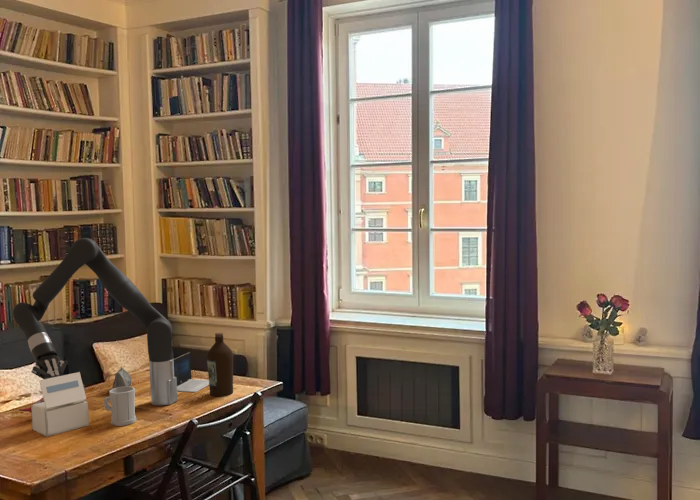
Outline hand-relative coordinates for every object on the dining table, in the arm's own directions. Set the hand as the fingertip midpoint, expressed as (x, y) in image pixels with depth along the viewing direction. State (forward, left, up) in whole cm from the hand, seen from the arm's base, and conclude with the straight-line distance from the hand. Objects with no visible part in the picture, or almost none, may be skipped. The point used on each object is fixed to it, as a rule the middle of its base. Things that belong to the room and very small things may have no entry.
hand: (58, 386), depth 236 cm
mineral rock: (+4, -48, -15) cm, 51 cm away
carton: (0, 0, -15) cm, 15 cm away
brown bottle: (-40, -48, -15) cm, 64 cm away
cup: (-19, -8, -15) cm, 26 cm away
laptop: (-23, -57, -15) cm, 63 cm away
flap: (-5, +3, -6) cm, 8 cm away
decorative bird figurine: (+14, -7, -15) cm, 22 cm away
